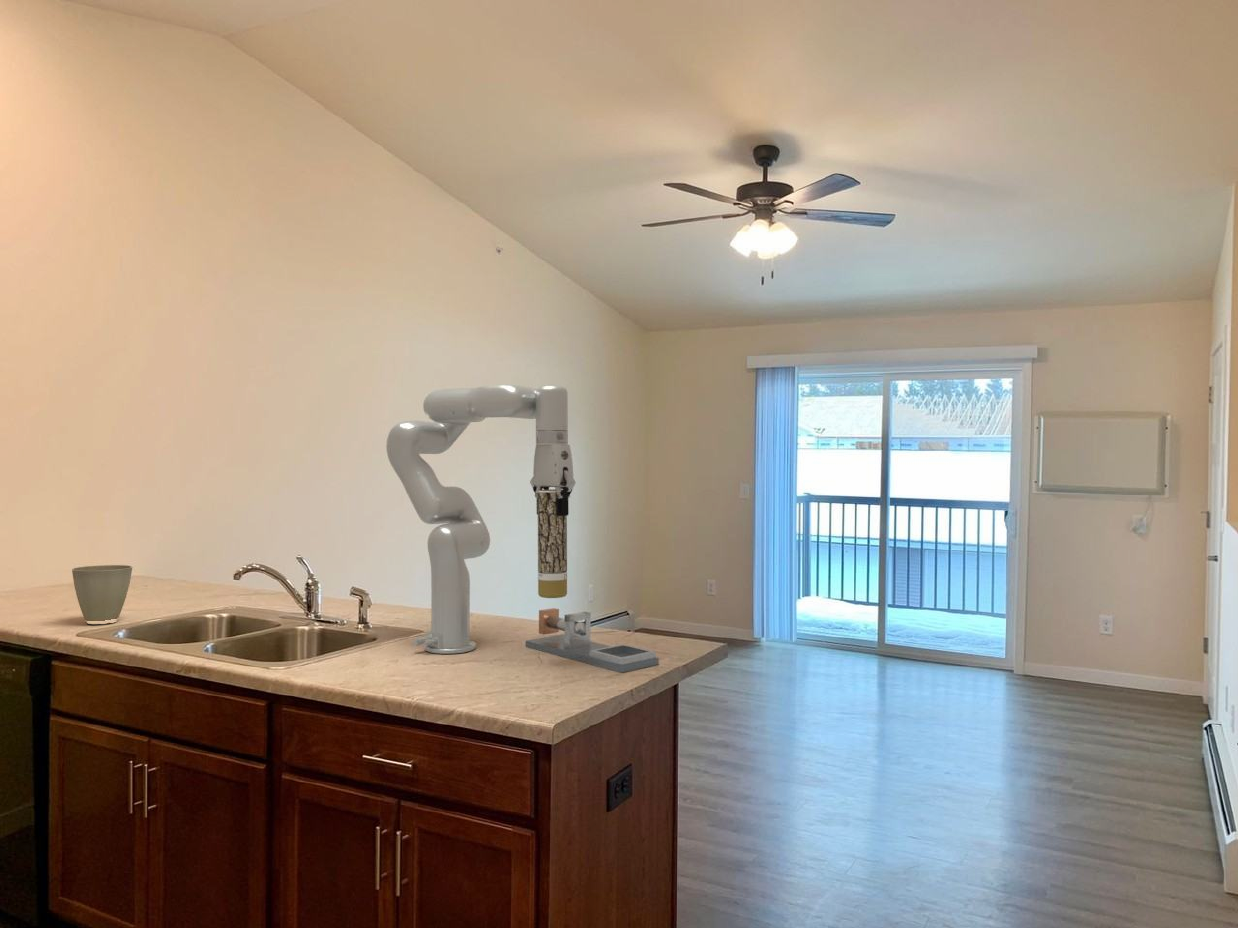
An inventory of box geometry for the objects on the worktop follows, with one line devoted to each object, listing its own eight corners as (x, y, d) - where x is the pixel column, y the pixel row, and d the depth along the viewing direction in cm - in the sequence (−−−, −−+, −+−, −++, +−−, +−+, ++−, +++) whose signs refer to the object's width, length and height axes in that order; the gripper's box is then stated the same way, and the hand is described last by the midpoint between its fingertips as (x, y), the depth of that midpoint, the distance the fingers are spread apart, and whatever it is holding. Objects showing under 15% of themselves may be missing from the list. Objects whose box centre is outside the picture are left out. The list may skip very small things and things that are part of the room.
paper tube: (544, 599, 196) (543, 490, 196) (533, 595, 202) (533, 489, 202) (571, 597, 199) (571, 489, 199) (560, 593, 205) (559, 489, 205)
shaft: (573, 642, 210) (573, 617, 210) (538, 633, 220) (538, 610, 220) (589, 639, 214) (589, 615, 214) (553, 630, 224) (554, 608, 224)
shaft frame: (621, 672, 192) (621, 630, 192) (525, 646, 219) (525, 609, 219) (658, 664, 201) (659, 623, 201) (561, 639, 227) (562, 604, 227)
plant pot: (124, 626, 240) (124, 570, 240) (63, 629, 236) (64, 571, 236) (138, 617, 254) (138, 563, 254) (81, 619, 250) (81, 565, 250)
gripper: (587, 438, 196) (588, 515, 196) (542, 440, 209) (543, 513, 209) (562, 437, 191) (562, 517, 191) (517, 439, 204) (517, 514, 204)
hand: (552, 514), depth 200 cm, fingers closed on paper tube, 6 cm apart
